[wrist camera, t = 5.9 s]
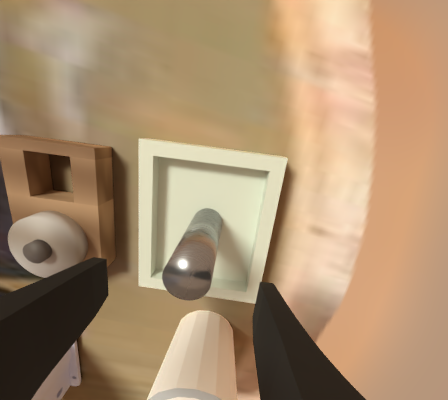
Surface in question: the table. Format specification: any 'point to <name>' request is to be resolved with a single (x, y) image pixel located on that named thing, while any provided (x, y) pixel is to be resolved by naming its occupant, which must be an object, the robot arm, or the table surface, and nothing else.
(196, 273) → the pin
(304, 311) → the table surface
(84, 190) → the block
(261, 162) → the tray
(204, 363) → the cream cylinder
